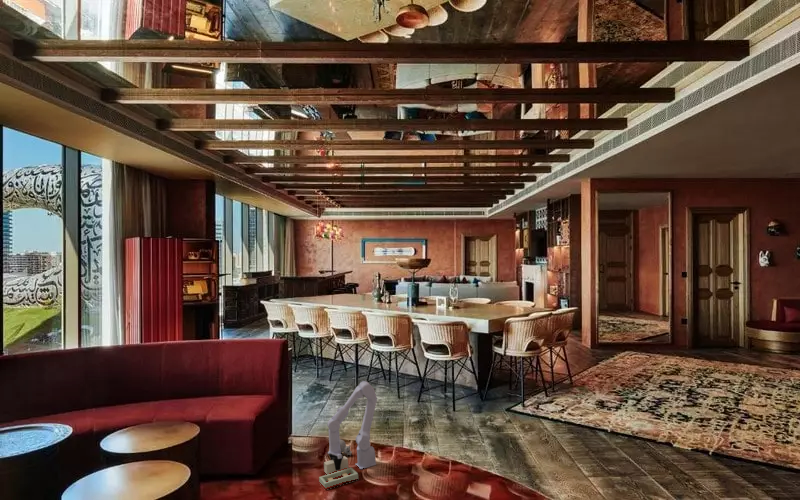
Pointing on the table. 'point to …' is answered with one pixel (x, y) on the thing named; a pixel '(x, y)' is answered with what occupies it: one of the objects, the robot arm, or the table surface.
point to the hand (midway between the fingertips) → (336, 468)
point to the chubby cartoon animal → (345, 448)
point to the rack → (336, 481)
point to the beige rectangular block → (330, 465)
